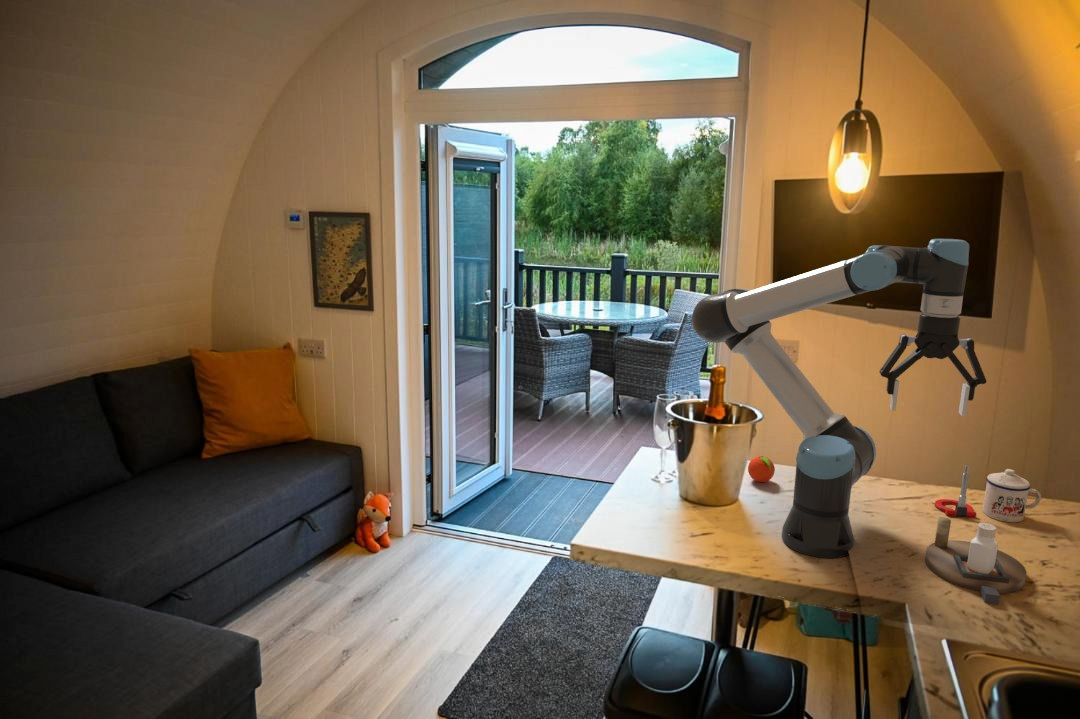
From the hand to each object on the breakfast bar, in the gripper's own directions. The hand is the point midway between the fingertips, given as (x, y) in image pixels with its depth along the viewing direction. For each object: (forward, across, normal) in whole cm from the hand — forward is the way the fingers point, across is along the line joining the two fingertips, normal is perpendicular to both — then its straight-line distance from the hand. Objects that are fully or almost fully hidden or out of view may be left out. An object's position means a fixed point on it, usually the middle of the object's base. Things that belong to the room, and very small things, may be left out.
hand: (926, 411), depth 162 cm
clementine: (+31, -32, +26) cm, 52 cm away
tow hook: (+31, +14, +22) cm, 41 cm away
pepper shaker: (+28, +10, -16) cm, 33 cm away
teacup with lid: (+31, +26, +22) cm, 46 cm away
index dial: (+29, +10, -12) cm, 33 cm away
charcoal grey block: (+31, +10, -24) cm, 40 cm away
